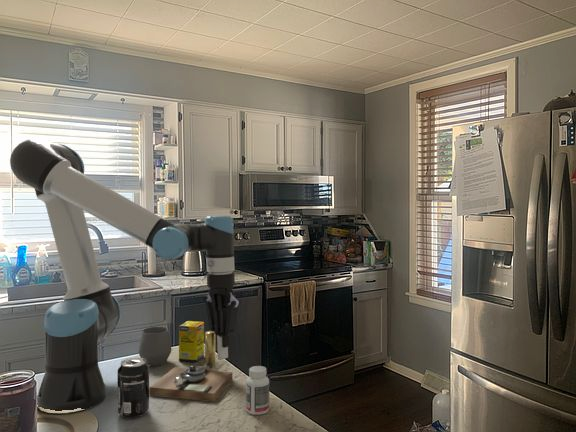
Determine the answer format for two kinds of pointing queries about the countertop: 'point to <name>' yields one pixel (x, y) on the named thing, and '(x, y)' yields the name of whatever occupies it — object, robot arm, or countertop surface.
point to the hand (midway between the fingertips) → (222, 358)
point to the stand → (192, 386)
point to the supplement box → (191, 341)
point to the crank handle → (198, 372)
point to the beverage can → (133, 388)
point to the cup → (155, 345)
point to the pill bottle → (257, 391)
